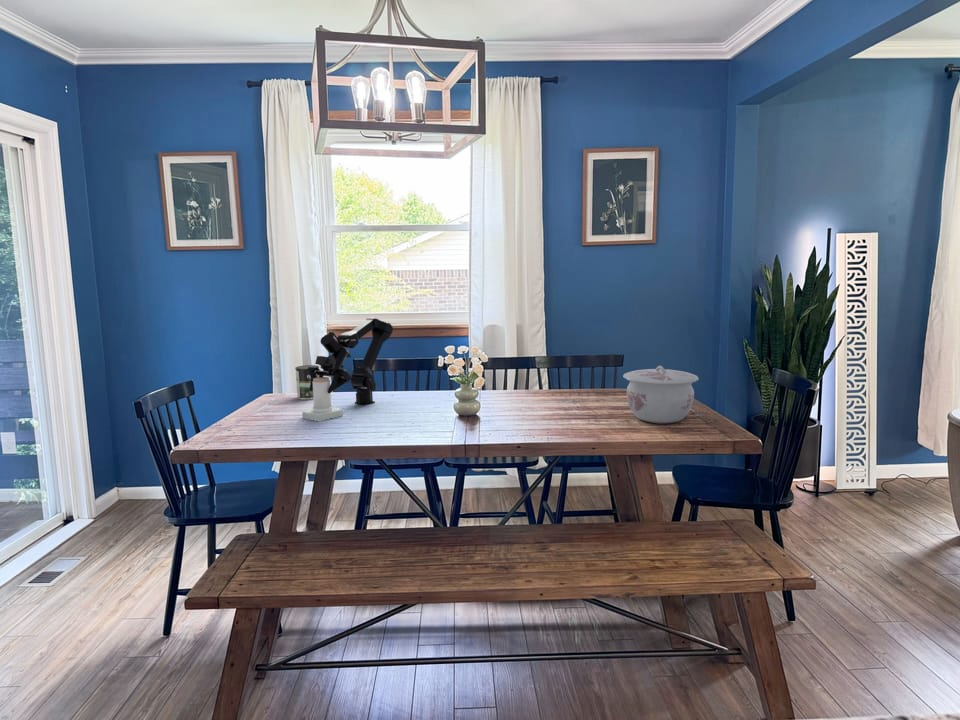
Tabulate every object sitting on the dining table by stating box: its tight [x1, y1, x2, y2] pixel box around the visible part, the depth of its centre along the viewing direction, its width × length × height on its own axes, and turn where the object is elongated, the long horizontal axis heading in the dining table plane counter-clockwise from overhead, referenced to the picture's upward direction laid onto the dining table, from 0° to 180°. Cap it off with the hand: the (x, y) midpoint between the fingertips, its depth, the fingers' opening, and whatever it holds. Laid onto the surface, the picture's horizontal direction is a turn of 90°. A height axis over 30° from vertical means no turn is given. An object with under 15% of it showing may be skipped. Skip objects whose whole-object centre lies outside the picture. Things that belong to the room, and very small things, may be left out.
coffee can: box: [294, 364, 320, 401], centre depth 288 cm, size 10×10×14 cm
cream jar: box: [312, 376, 333, 413], centre depth 251 cm, size 7×7×13 cm
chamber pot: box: [622, 365, 699, 425], centre depth 239 cm, size 28×28×21 cm
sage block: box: [301, 406, 344, 422], centre depth 252 cm, size 12×10×2 cm
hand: (319, 391), depth 249 cm, fingers open, 9 cm apart
